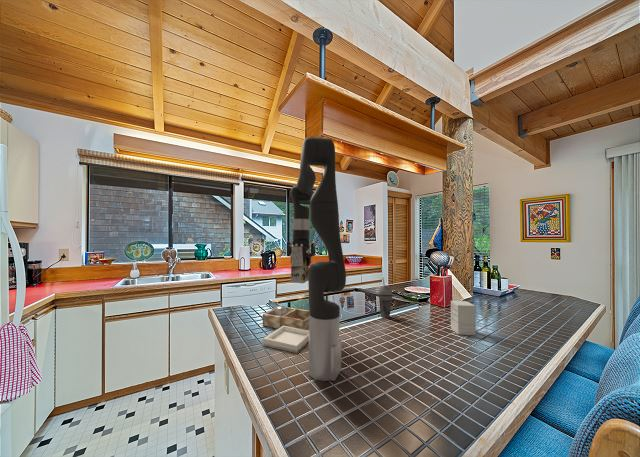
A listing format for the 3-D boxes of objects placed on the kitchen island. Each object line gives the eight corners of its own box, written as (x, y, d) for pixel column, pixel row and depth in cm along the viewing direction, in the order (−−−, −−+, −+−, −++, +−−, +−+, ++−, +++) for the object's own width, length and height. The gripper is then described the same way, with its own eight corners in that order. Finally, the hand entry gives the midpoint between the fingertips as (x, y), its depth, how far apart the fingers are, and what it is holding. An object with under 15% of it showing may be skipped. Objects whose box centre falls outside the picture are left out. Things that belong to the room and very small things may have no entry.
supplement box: (467, 329, 110) (467, 301, 110) (476, 335, 102) (476, 305, 103) (450, 328, 110) (450, 300, 111) (457, 334, 103) (457, 304, 103)
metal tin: (287, 321, 115) (288, 306, 115) (282, 324, 110) (282, 309, 111) (278, 319, 117) (279, 305, 117) (272, 323, 112) (273, 307, 112)
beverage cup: (394, 319, 120) (394, 279, 121) (379, 318, 121) (380, 278, 121) (390, 314, 128) (390, 276, 128) (376, 314, 128) (376, 276, 128)
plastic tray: (313, 337, 97) (313, 331, 97) (296, 353, 84) (296, 345, 84) (283, 331, 103) (283, 325, 103) (263, 345, 90) (263, 338, 90)
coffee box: (304, 283, 105) (305, 246, 106) (290, 282, 106) (291, 246, 107) (309, 280, 114) (310, 245, 115) (296, 279, 115) (297, 245, 116)
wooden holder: (317, 322, 114) (317, 311, 114) (304, 333, 101) (304, 320, 101) (279, 316, 122) (279, 305, 122) (262, 325, 109) (262, 313, 109)
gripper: (283, 228, 110) (282, 265, 110) (312, 229, 105) (311, 267, 104) (291, 229, 117) (291, 263, 117) (318, 229, 112) (318, 265, 111)
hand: (300, 265), depth 110 cm, fingers closed on coffee box, 7 cm apart
